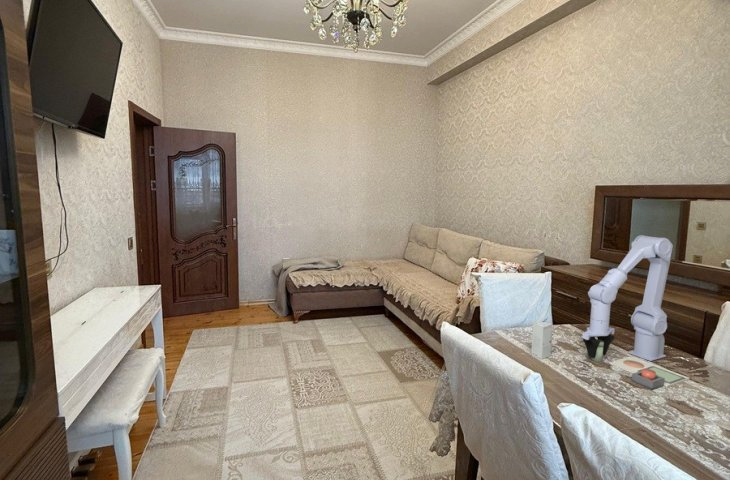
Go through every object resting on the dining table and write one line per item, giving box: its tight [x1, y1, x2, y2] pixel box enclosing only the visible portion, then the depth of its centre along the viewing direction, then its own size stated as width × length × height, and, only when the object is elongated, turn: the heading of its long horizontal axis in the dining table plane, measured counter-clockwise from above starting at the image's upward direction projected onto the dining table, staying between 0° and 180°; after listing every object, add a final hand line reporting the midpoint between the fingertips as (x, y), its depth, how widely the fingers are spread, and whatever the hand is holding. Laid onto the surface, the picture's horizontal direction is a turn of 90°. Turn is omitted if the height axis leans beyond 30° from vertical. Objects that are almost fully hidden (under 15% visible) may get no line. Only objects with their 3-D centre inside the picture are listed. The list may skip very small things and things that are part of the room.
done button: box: [641, 369, 656, 380], centre depth 120 cm, size 4×4×2 cm
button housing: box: [631, 371, 665, 391], centre depth 120 cm, size 6×6×2 cm
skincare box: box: [531, 320, 553, 360], centre depth 140 cm, size 6×4×12 cm
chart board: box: [609, 356, 690, 388], centre depth 129 cm, size 12×18×1 cm, turn 25°
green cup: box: [590, 338, 604, 363], centre depth 137 cm, size 4×4×7 cm
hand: (596, 355), depth 137 cm, fingers open, 5 cm apart
